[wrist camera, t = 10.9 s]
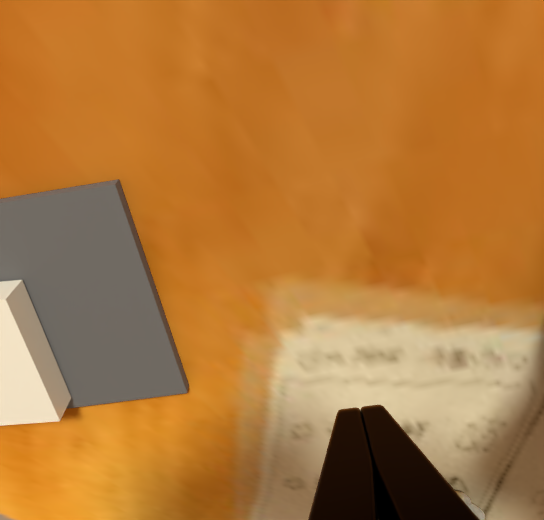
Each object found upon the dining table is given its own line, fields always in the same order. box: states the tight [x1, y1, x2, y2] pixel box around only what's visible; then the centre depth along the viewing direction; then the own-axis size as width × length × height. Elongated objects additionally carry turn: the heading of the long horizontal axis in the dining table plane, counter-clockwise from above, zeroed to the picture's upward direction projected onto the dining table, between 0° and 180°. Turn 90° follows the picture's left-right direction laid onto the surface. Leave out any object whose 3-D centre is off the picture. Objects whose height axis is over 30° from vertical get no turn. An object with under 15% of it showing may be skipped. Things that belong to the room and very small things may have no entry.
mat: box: [0, 180, 189, 409], centre depth 23 cm, size 15×12×1 cm
